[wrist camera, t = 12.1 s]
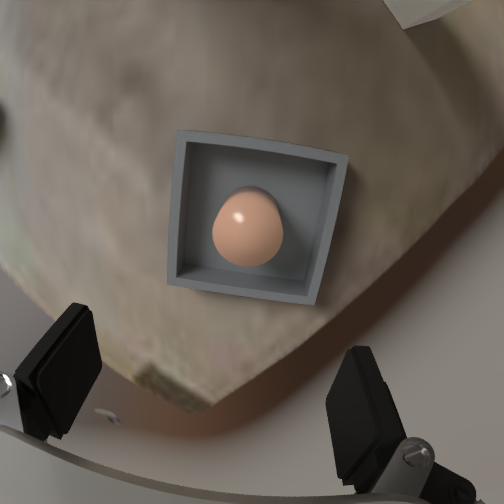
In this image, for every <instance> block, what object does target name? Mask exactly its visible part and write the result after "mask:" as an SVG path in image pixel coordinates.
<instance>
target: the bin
mask: <svg viewBox="0 0 504 504" xmlns="http://www.w3.org/2000/svg"><path fill="white" fill-rule="evenodd" d="M348 160H349V155H345V154H342V153H338V152H334V151H329V150H324V149H319V148H314V147H309V146H303V145H298V144H292V143H287V142H281V141H274V140H268V139H261V138H254V137H247V136H239V135H231V134H223V133H214V132H204V131H193V130H177V137H176V146H175V156H174V166H173V177H172V189H171V202H170V217H169V236H168V260H167V284H169V285H174V286H180V287H186V288H193V289H199V290H205V291H211V292H218V293H224V294H231V295H238V296H245V297H252V298H259V299H266V300H274V301H281V302H289V303H297V304H305V305H313V306H314V305H315V301H316V298H317V294H318V290H319V287H320V283H321V279H322V275H323V271H324V268H325V264H326V260H327V256H328V252H329V248H330V243H331V239H332V235H333V231H334V226H335V222H336V218H337V213H338V209H339V204H340V199H341V195H342V190H343V185H344V180H345V175H346V170H347V165H348ZM243 186H257V187H260V188H263V189H265V190H266V191H268V192H269V193H270V194H271V195H272V196H273V197H274V199H275V201H276V203H277V205H278V209H279V214H280V218H281V223H282V228H283V240H282V244H281V246H280V248H279V250H278V252H277V253H276V254H275V256H274V257H273V258H272V259H270V260H269V261H267V262H266V263H264V264H261V265H258V266H253V267H243V266H238V265H235V264H233V263H231V262H229V261H227V260H226V259H225V258H224V257H223V256H222V255H221V254H220V253H219V252H218V250H217V249H216V247H215V244H214V241H213V235H212V231H213V225H214V222H215V219H216V217H217V215H218V213H219V212H220V210H221V208H222V206H223V204H224V202H225V200H226V198H227V197H228V196H229V195H230V194H231V193H232V192H233V191H234V190H236V189H238V188H240V187H243Z"/></svg>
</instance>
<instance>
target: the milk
mask: <svg viewBox="0 0 504 504" xmlns="http://www.w3.org/2000/svg"><path fill="white" fill-rule="evenodd" d="M383 1H384V3H385V4H386V6H387V7H388V8H389V10H390V11H391V13H392V14H393V16H394V17H395V19H396V20H397V22H398V23H399V25H400V26H401V28H402V29H403V30H404V29H407V28H410V27H413V26H416V25H419V24H422V23H425V22H429V21H432V20H436V19H438V18H440V17H441V16H443V15H445V14H447V13H449V12H451V11H453V10H455V9H457V8H459V7H461V6H463V5H465V4H467V3H469V2H471V1H474V0H383Z"/></svg>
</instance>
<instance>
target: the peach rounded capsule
mask: <svg viewBox="0 0 504 504" xmlns="http://www.w3.org/2000/svg"><path fill="white" fill-rule="evenodd" d="M212 235H213V241H214V244H215V247H216V249H217V250H218V252H219V253H220V254H221V255H222V256H223V257H224V258H225V259H226V260H227V261H229V262H231V263H233V264H235V265H238V266H243V267H253V266H258V265H261V264H264V263H266V262H267V261H269V260H270V259H272V258H273V257H274V256H275V254H276V253H277V252H278V250H279V248H280V246H281V244H282V240H283V228H282V223H281V218H280V214H279V209H278V205H277V203H276V201H275V199H274V197H273V196H272V195H271V194H270V193H269V192H268V191H266V190H265V189H263V188H260V187H257V186H243V187H240V188H238V189H236V190H234V191H233V192H232V193H231V194H230V195H229V196H228V197H227V198H226V200H225V202H224V204H223V206H222V208H221V210H220V212H219V213H218V215H217V217H216V219H215V222H214V225H213V231H212Z"/></svg>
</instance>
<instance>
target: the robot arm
mask: <svg viewBox="0 0 504 504" xmlns="http://www.w3.org/2000/svg"><path fill="white" fill-rule="evenodd" d="M101 369H102V360H101V356H100V351H99V346H98V341H97V336H96V331H95V325H94V319H93V314H92V311H91V310H89V308H88V306H86V305H83V304H79V303H72V304H71V305H70V306H69V307H68V308H67V309H66V310H65V312H64V313H63V314H62V315H61V316H60V317H59V318H58V320H57V321H56V322H55V323H54V324H53V325H52V326H51V328H50V329H49V330H48V331H47V332H46V333H45V335H44V336H43V337H42V338H41V339H40V341H39V342H38V343H37V344H36V345H35V347H34V348H33V349H32V350H31V352H30V353H29V354H28V356H27V357H26V358H25V359H24V360H23V362H22V363H21V364H20V366H19V367H18V368H17V369H16V370H15V372H16V373H15V374H14V375H13V376H12V375H11V374H9V373H8V372H4V371H0V504H485V503H484V502H483V501H482V500H481V499H480V500H479V501H477V500H476V490H475V487H474V486H473V484H472V483H471V482H470V481H469V480H467V479H465V478H463V477H461V476H459V475H458V474H456V473H454V472H452V471H450V470H448V469H446V468H445V467H443V466H441V465H439V464H437V463H436V462H434V460H435V453H434V450H433V448H432V446H431V445H430V444H429V443H428V442H427V441H425V440H424V439H421V438H418V437H410V438H407V436H406V433H405V431H404V428H403V425H402V422H401V419H400V417H399V414H398V412H397V409H396V406H395V403H394V401H393V398H392V395H391V393H390V390H389V388H388V385H387V384H386V382H384V381H383V378H382V376H381V373H380V371H379V368H378V366H377V363H376V361H375V358H374V356H373V353H372V351H371V349H370V347H369V346H353V347H352V349H348V350H347V352H346V354H345V357H344V359H343V361H342V364H341V366H340V368H339V371H338V373H337V375H336V378H335V380H334V382H333V384H332V386H331V389H330V391H329V393H328V395H327V398H326V410H327V416H328V422H329V427H330V433H331V439H332V445H333V450H334V457H335V464H336V470H337V476H338V478H339V479H342V482H343V486H345V485H354V488H355V490H356V492H355V493H354V494H351V495H336V496H313V497H312V496H311V497H280V496H257V495H244V494H233V493H224V492H215V491H209V490H202V489H196V488H189V487H184V486H179V485H174V484H169V483H165V482H160V481H156V480H152V479H147V478H144V477H140V476H136V475H133V474H129V473H125V472H122V471H119V470H116V469H113V468H110V467H106V466H104V465H101V464H98V463H95V462H92V461H89V460H86V459H84V458H81V457H79V456H76V455H74V454H71V453H69V452H66V451H64V450H61V449H59V448H57V447H54V446H52V445H50V444H48V443H47V438H48V436H49V435H51V436H53V437H55V438H57V439H60V440H61V438H62V436H63V434H67V433H68V431H69V430H70V428H71V426H72V424H73V422H74V420H75V418H76V416H77V414H78V412H79V410H80V408H81V406H82V404H83V403H84V401H85V399H86V397H87V395H88V393H89V391H90V390H91V388H92V386H93V384H94V382H95V380H96V379H97V377H98V375H99V373H100V371H101Z"/></svg>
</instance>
